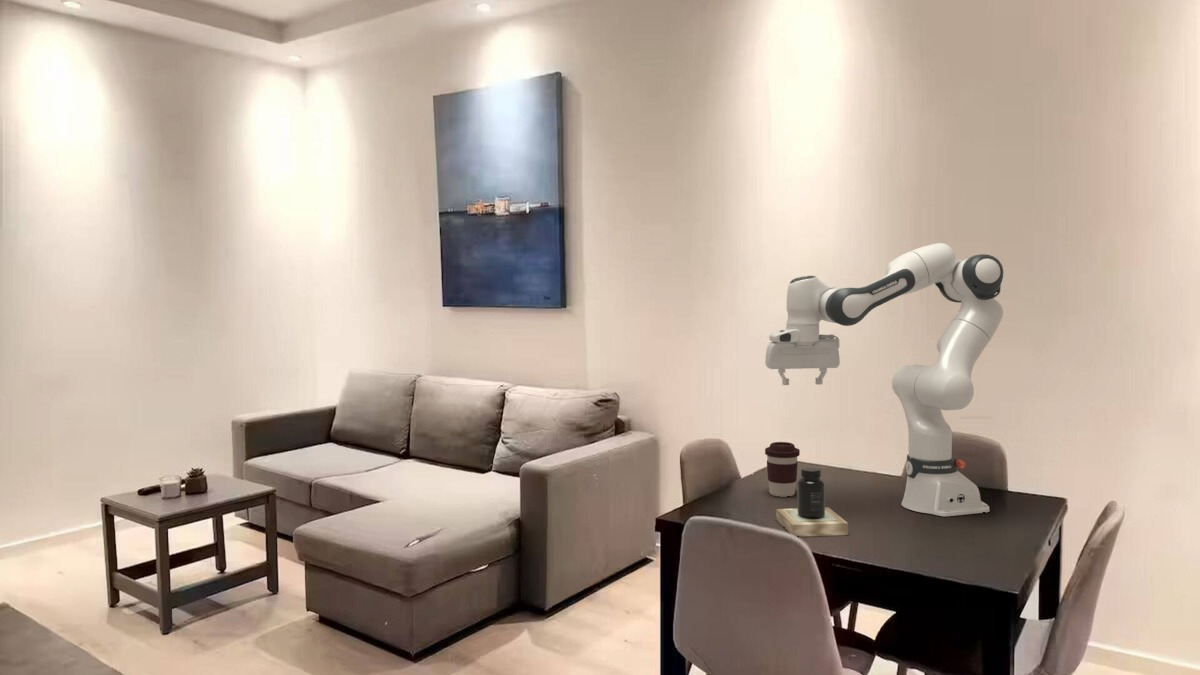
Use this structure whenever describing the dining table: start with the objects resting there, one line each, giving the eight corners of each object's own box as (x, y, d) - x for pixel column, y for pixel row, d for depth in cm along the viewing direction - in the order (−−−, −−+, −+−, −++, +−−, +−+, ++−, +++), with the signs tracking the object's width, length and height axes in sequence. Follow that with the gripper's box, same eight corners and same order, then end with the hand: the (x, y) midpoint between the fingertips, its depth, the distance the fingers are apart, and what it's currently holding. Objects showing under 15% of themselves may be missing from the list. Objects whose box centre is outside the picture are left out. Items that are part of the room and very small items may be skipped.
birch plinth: (828, 518, 219) (828, 506, 218) (847, 534, 205) (848, 522, 204) (776, 520, 218) (776, 508, 217) (792, 536, 204) (792, 524, 203)
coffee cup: (758, 494, 244) (758, 444, 242) (778, 488, 250) (778, 439, 249) (786, 500, 236) (786, 449, 235) (806, 494, 243) (806, 443, 242)
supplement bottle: (826, 513, 212) (827, 467, 212) (822, 520, 206) (823, 473, 205) (799, 510, 215) (799, 465, 214) (795, 517, 209) (795, 471, 208)
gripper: (835, 333, 232) (834, 382, 233) (763, 334, 230) (763, 383, 231) (843, 335, 225) (843, 385, 226) (770, 336, 224) (769, 386, 225)
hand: (802, 384), depth 229 cm, fingers open, 8 cm apart
